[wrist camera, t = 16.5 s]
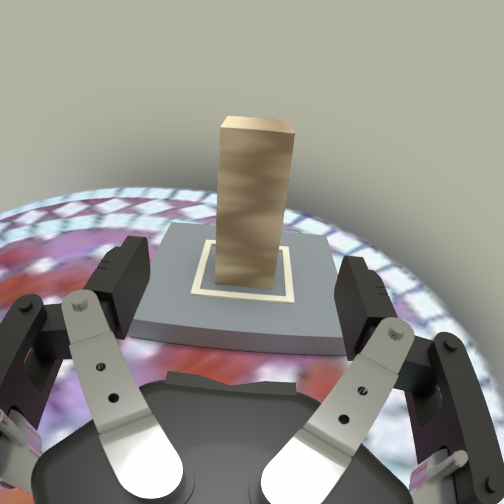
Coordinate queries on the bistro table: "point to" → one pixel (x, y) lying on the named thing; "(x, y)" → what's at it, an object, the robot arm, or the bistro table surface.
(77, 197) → the bistro table surface
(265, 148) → the maple block
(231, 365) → the bistro table surface
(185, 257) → the grey rectangular slab
